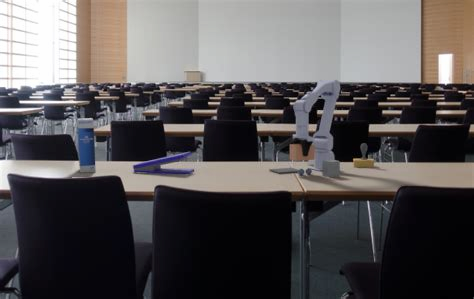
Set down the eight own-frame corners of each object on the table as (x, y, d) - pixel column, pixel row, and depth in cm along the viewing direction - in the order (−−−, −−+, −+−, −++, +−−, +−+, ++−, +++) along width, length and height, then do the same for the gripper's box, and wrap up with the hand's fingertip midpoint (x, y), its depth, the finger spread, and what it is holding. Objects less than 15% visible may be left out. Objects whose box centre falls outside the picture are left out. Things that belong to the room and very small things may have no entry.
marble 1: (302, 174, 247) (302, 168, 246) (305, 175, 244) (305, 168, 244) (296, 174, 246) (296, 168, 245) (299, 175, 243) (299, 169, 242)
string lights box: (96, 172, 258) (93, 119, 255) (79, 173, 256) (77, 119, 253) (94, 168, 271) (92, 117, 268) (79, 169, 269) (76, 118, 266)
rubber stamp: (373, 166, 270) (373, 142, 269) (373, 167, 265) (374, 143, 263) (353, 165, 272) (353, 142, 271) (353, 167, 267) (354, 143, 265)
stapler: (187, 175, 250) (186, 154, 249) (132, 173, 256) (131, 153, 255) (194, 171, 261) (194, 151, 260) (141, 169, 267) (141, 150, 266)
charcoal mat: (291, 169, 262) (291, 167, 262) (301, 172, 253) (301, 170, 253) (269, 170, 257) (269, 169, 257) (278, 174, 248) (278, 172, 248)
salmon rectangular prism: (308, 158, 251) (308, 143, 250) (314, 159, 245) (314, 144, 245) (289, 159, 247) (289, 144, 246) (295, 160, 242) (295, 145, 241)
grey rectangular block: (332, 174, 245) (333, 159, 244) (339, 176, 240) (339, 161, 239) (322, 175, 243) (322, 160, 242) (328, 177, 238) (329, 161, 237)
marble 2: (309, 173, 248) (309, 167, 248) (313, 174, 245) (313, 168, 245) (304, 174, 247) (304, 167, 247) (307, 175, 244) (307, 168, 244)
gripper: (287, 125, 249) (286, 154, 251) (302, 127, 236) (302, 157, 238) (300, 124, 252) (300, 153, 254) (316, 126, 239) (315, 156, 240)
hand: (302, 155), depth 246 cm, fingers closed on salmon rectangular prism, 6 cm apart
